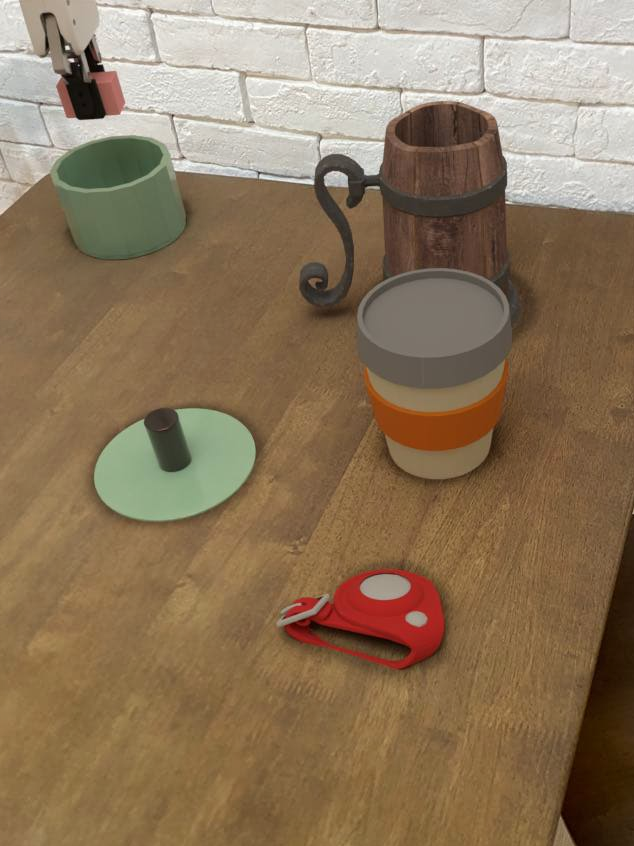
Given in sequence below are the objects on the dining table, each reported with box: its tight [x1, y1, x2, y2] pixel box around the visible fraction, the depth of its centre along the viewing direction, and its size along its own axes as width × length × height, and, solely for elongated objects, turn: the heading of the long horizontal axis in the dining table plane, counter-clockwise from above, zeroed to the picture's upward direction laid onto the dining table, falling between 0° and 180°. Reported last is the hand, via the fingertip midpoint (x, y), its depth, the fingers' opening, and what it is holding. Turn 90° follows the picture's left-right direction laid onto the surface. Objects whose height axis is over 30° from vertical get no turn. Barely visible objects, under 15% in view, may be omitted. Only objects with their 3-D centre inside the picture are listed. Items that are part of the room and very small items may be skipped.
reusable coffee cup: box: [356, 268, 513, 480], centre depth 79 cm, size 13×12×15 cm
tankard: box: [298, 100, 522, 329], centre depth 91 cm, size 24×17×20 cm
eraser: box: [55, 70, 126, 119], centre depth 103 cm, size 6×3×4 cm, turn 90°
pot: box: [49, 134, 187, 261], centre depth 111 cm, size 14×14×8 cm
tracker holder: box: [275, 569, 445, 670], centre depth 70 cm, size 12×4×10 cm
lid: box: [93, 407, 257, 523], centre depth 83 cm, size 15×15×6 cm
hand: (95, 109), depth 104 cm, fingers closed on eraser, 3 cm apart
